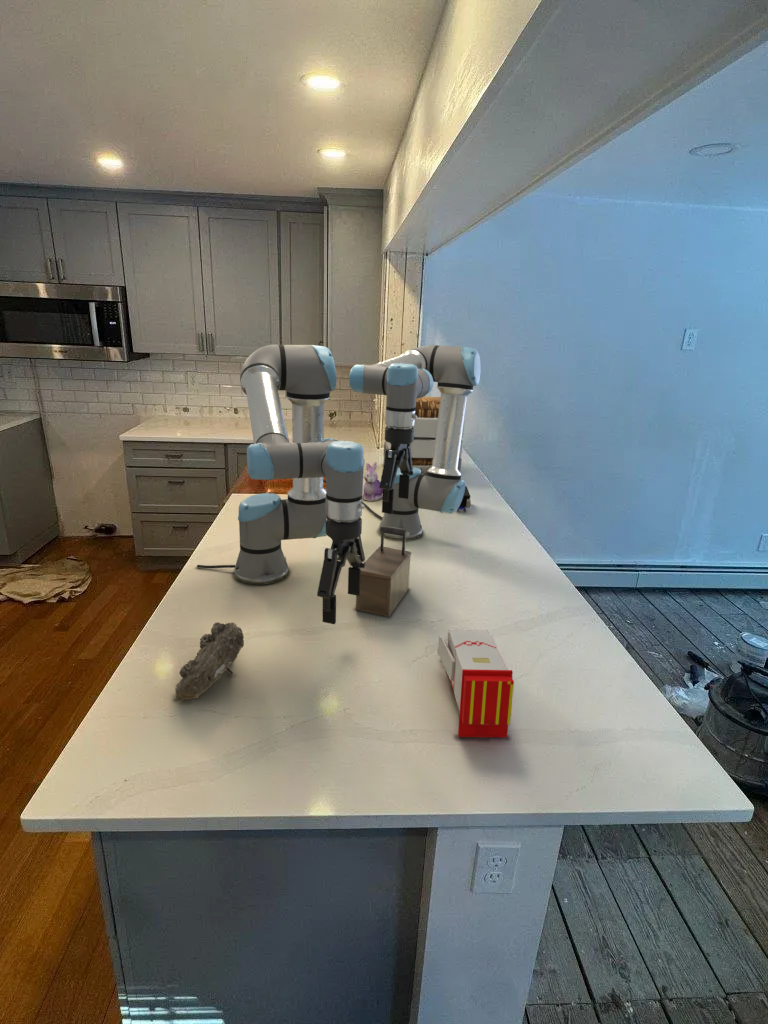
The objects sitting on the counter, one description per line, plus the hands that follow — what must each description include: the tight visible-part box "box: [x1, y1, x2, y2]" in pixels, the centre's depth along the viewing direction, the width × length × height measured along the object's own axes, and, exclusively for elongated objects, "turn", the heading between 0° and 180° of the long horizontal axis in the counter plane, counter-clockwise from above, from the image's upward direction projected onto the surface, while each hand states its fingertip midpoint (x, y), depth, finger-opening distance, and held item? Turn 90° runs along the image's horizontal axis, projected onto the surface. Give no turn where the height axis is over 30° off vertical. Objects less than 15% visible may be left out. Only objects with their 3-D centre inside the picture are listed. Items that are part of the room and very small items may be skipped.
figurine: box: [362, 461, 383, 502], centre depth 233 cm, size 9×10×15 cm
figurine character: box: [456, 485, 472, 513], centre depth 228 cm, size 7×8×15 cm
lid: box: [360, 525, 412, 580], centre depth 150 cm, size 17×9×8 cm, turn 160°
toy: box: [437, 628, 515, 738], centre depth 117 cm, size 12×13×30 cm
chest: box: [355, 556, 411, 618], centre depth 153 cm, size 17×9×10 cm, turn 160°
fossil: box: [174, 621, 245, 701], centre depth 119 cm, size 22×10×15 cm
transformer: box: [383, 396, 465, 474], centre depth 268 cm, size 34×33×41 cm
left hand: (342, 607), depth 124 cm, fingers open, 13 cm apart
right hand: (395, 505), depth 152 cm, fingers open, 13 cm apart
